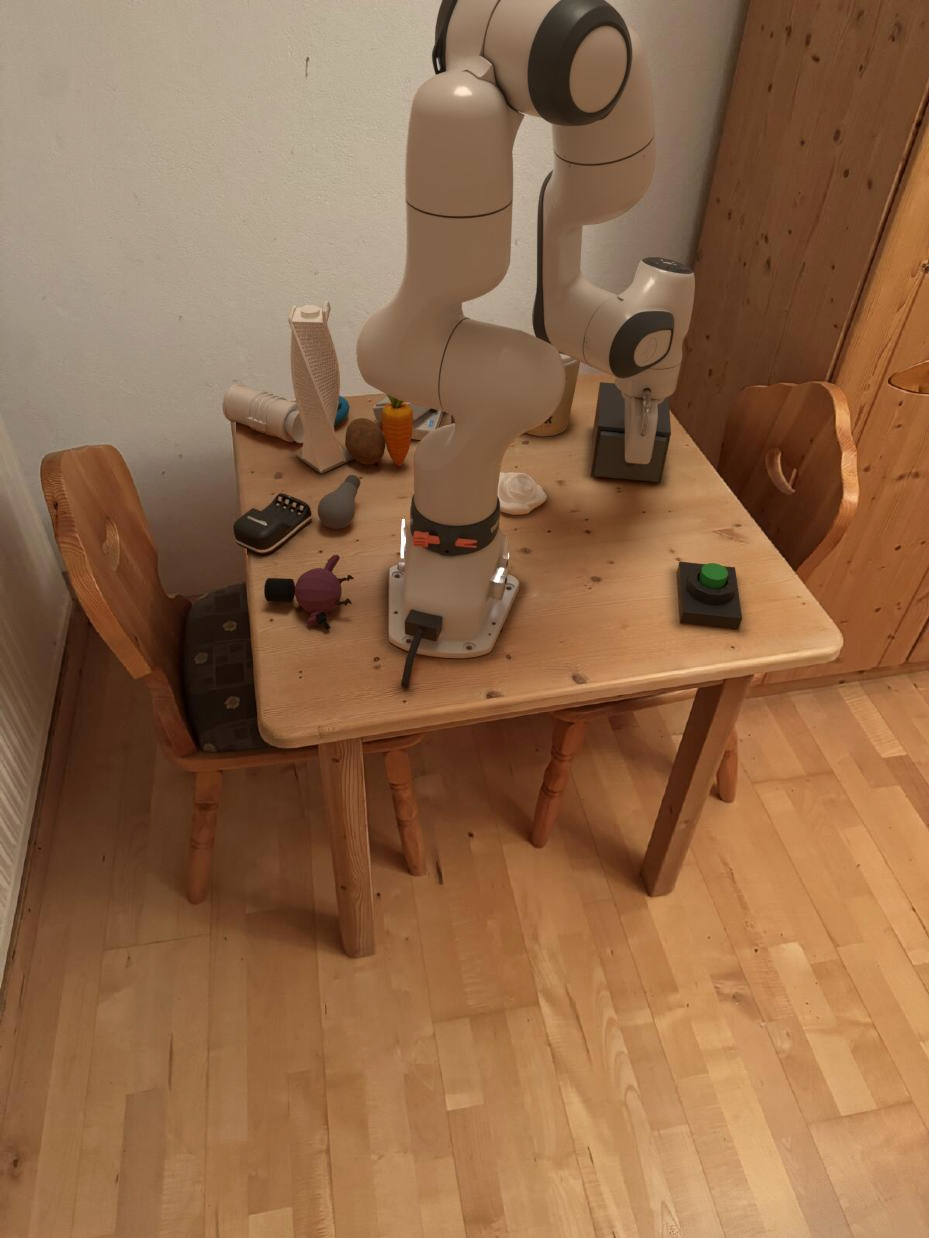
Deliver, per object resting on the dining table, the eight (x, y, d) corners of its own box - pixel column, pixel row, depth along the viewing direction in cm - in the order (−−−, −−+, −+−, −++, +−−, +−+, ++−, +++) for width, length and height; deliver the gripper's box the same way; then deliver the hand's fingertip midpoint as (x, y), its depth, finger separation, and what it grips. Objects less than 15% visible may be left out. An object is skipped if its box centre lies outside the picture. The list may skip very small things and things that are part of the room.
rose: (486, 458, 144) (546, 459, 144) (485, 481, 147) (543, 481, 147) (488, 493, 136) (551, 494, 136) (486, 517, 139) (548, 518, 139)
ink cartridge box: (445, 399, 161) (392, 393, 162) (434, 430, 153) (379, 424, 154) (444, 411, 163) (392, 405, 164) (434, 443, 155) (379, 436, 156)
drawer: (658, 486, 145) (666, 445, 140) (594, 480, 146) (600, 438, 141) (656, 439, 156) (664, 399, 151) (596, 433, 157) (602, 393, 151)
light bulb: (378, 488, 139) (351, 535, 134) (351, 491, 142) (324, 537, 137) (360, 462, 135) (331, 510, 130) (333, 465, 138) (304, 512, 133)
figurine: (262, 628, 120) (348, 632, 118) (253, 574, 116) (342, 577, 115) (281, 602, 127) (363, 605, 125) (274, 550, 123) (358, 553, 122)
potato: (337, 415, 149) (343, 446, 154) (347, 445, 142) (352, 478, 147) (376, 407, 150) (381, 439, 154) (387, 438, 143) (391, 470, 148)
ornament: (324, 416, 152) (282, 397, 156) (327, 438, 155) (287, 419, 160) (356, 394, 156) (315, 376, 161) (359, 417, 160) (319, 398, 164)
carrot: (377, 467, 149) (373, 385, 138) (396, 454, 152) (394, 374, 141) (400, 477, 147) (398, 395, 136) (419, 465, 150) (418, 383, 139)
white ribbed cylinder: (294, 453, 151) (227, 429, 157) (319, 431, 155) (252, 408, 161) (286, 420, 146) (217, 397, 152) (311, 398, 150) (243, 375, 156)
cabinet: (660, 483, 148) (671, 432, 141) (590, 476, 148) (597, 425, 142) (658, 436, 158) (668, 387, 152) (592, 430, 159) (599, 381, 152)
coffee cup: (497, 428, 159) (502, 349, 149) (526, 400, 166) (532, 323, 156) (557, 446, 155) (566, 367, 145) (583, 417, 162) (594, 339, 152)
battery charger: (312, 500, 135) (262, 538, 128) (314, 520, 137) (265, 559, 130) (277, 485, 137) (225, 522, 130) (280, 505, 140) (229, 543, 133)
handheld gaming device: (409, 400, 150) (415, 422, 151) (451, 372, 160) (456, 392, 162) (367, 405, 154) (373, 425, 156) (410, 376, 165) (416, 396, 167)
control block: (738, 629, 122) (745, 608, 119) (679, 623, 123) (685, 601, 120) (731, 578, 130) (738, 557, 127) (676, 572, 130) (681, 551, 128)
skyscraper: (360, 462, 149) (349, 299, 130) (321, 480, 145) (304, 315, 126) (329, 441, 154) (315, 281, 135) (290, 458, 149) (270, 296, 130)
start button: (726, 590, 122) (729, 581, 121) (699, 587, 123) (702, 578, 121) (724, 574, 125) (726, 564, 124) (698, 571, 125) (700, 561, 124)
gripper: (671, 411, 120) (653, 497, 129) (666, 347, 135) (650, 428, 144) (625, 406, 120) (609, 492, 129) (624, 343, 135) (611, 424, 145)
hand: (630, 458), depth 137 cm, fingers closed
